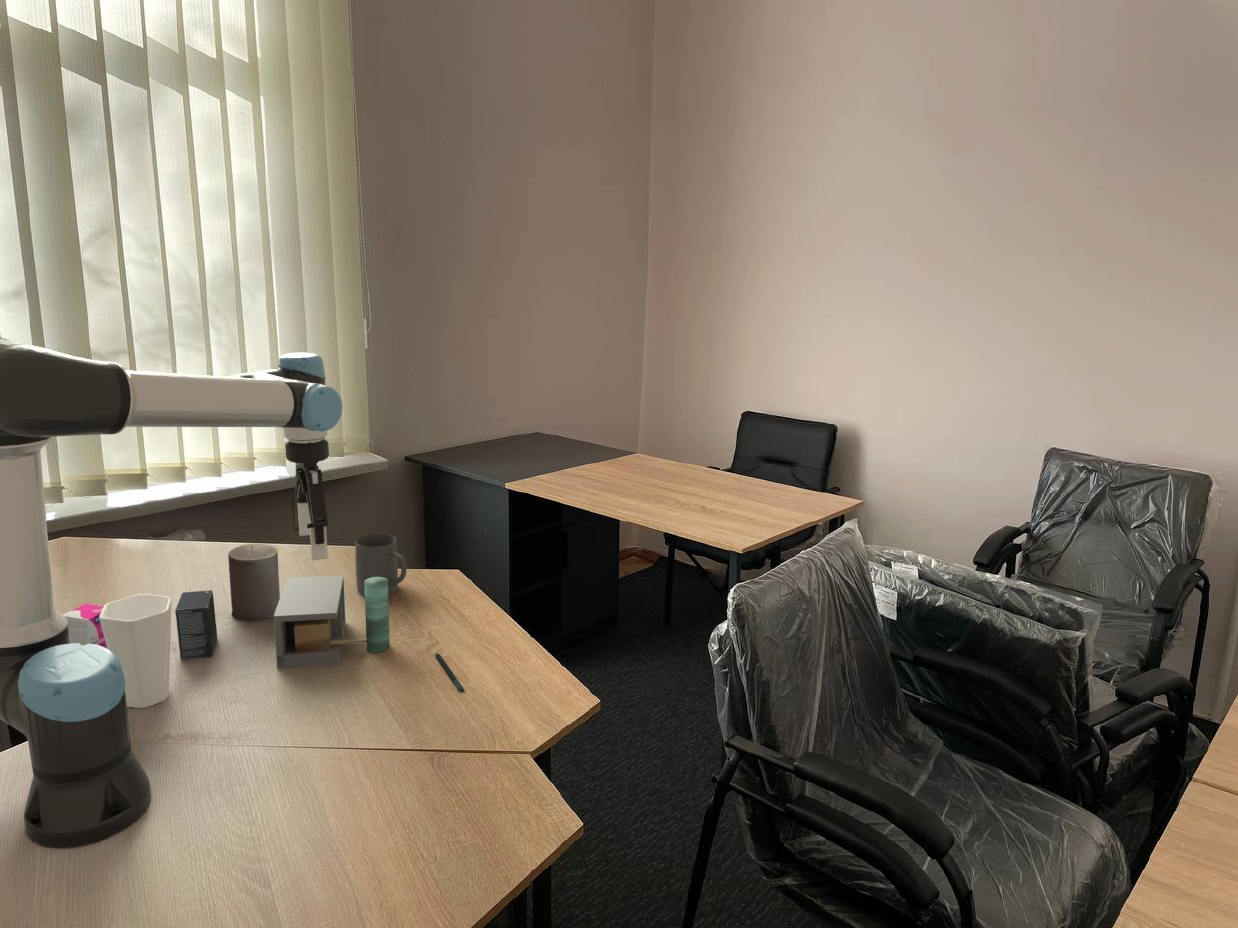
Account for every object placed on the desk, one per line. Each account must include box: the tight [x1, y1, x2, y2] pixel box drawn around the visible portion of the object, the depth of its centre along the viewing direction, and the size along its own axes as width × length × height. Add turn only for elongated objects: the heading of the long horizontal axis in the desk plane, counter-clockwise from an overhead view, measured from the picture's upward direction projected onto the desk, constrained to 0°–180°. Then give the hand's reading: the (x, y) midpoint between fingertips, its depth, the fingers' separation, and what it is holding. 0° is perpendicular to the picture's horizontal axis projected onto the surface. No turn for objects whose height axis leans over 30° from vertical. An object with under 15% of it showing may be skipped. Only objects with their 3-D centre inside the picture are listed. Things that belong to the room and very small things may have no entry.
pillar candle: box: [227, 543, 281, 622], centre depth 182 cm, size 10×10×15 cm
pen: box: [435, 652, 465, 693], centre depth 163 cm, size 1×16×1 cm, turn 29°
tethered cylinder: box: [294, 577, 391, 653], centre depth 168 cm, size 6×17×14 cm, turn 103°
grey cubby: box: [273, 574, 346, 669], centre depth 170 cm, size 18×11×11 cm, turn 13°
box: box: [174, 589, 218, 661], centre depth 166 cm, size 8×6×11 cm
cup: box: [99, 593, 172, 709], centre depth 148 cm, size 11×10×17 cm
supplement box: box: [62, 603, 107, 648], centre depth 157 cm, size 6×6×12 cm
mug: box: [354, 532, 407, 597], centre depth 195 cm, size 14×9×12 cm
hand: (313, 546), depth 164 cm, fingers open, 13 cm apart
